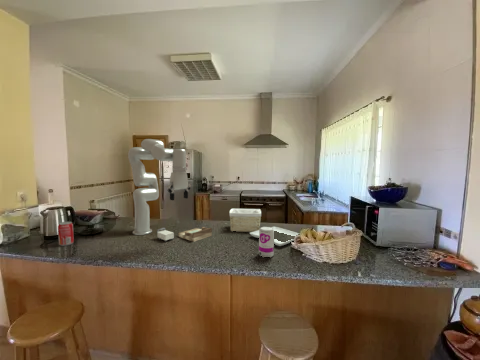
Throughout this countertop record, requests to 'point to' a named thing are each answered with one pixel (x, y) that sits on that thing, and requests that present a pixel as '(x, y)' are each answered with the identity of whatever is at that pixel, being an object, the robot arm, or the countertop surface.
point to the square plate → (280, 230)
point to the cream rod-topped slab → (165, 234)
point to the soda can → (65, 233)
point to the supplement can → (266, 242)
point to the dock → (196, 234)
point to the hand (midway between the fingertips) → (179, 199)
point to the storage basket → (245, 220)
